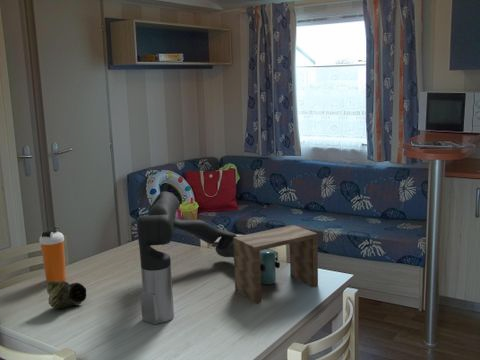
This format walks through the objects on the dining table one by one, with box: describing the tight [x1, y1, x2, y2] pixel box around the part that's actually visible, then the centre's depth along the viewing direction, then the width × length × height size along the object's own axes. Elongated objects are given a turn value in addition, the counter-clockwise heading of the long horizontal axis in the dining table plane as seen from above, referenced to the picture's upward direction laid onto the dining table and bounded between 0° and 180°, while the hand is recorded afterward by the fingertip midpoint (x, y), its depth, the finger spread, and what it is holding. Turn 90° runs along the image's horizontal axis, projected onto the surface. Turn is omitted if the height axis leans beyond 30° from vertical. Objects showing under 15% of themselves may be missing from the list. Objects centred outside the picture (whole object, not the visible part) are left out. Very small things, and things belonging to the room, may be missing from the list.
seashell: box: [45, 280, 87, 310], centre depth 178 cm, size 11×11×10 cm
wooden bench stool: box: [233, 224, 319, 304], centre depth 187 cm, size 14×26×20 cm, turn 120°
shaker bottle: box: [38, 227, 67, 282], centre depth 203 cm, size 9×9×20 cm
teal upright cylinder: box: [260, 249, 277, 285], centre depth 192 cm, size 6×6×11 cm
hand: (271, 267), depth 190 cm, fingers closed on teal upright cylinder, 5 cm apart
